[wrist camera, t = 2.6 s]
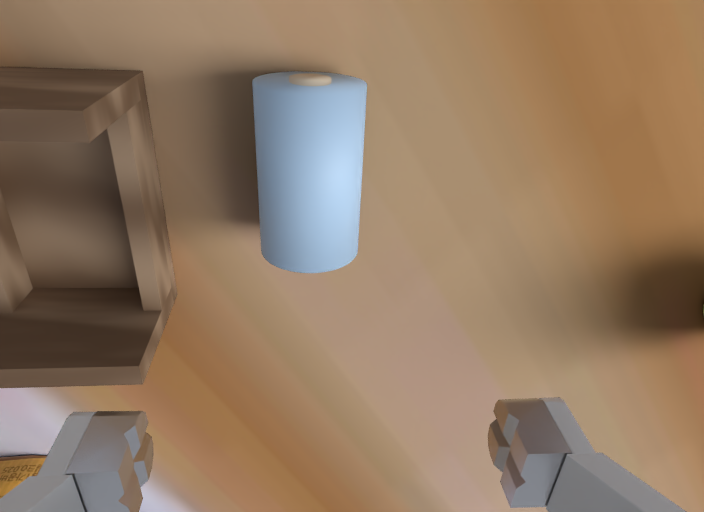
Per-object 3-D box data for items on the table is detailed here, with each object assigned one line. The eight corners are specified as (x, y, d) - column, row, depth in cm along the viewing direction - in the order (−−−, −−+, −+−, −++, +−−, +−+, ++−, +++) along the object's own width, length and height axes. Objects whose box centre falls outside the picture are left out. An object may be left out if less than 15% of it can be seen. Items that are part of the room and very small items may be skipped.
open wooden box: (177, 294, 32) (142, 384, 25) (28, 295, 31) (-49, 389, 24) (142, 70, 25) (82, 110, 18) (-49, 65, 25) (-186, 104, 18)
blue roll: (354, 230, 31) (360, 276, 26) (266, 228, 31) (255, 275, 26) (363, 69, 26) (372, 91, 22) (259, 65, 26) (244, 87, 21)
